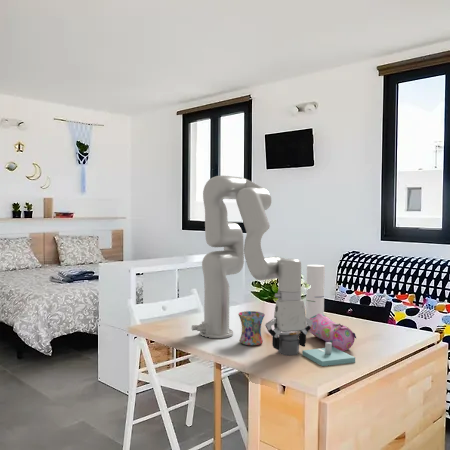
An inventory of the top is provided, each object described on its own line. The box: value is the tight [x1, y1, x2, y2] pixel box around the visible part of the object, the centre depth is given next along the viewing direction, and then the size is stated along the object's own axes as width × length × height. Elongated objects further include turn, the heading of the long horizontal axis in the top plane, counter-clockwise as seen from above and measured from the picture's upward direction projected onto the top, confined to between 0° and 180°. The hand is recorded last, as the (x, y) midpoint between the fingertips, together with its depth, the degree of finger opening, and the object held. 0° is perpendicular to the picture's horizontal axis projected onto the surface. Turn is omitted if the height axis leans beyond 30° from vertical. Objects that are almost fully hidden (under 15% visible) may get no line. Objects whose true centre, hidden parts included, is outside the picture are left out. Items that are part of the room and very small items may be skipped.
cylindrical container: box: [305, 264, 326, 325], centre depth 197 cm, size 7×7×25 cm
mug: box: [238, 310, 266, 346], centre depth 171 cm, size 12×9×11 cm
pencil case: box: [308, 314, 357, 352], centre depth 172 cm, size 21×9×9 cm, turn 14°
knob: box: [277, 331, 300, 357], centre depth 160 cm, size 6×6×6 cm
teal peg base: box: [301, 341, 356, 367], centre depth 154 cm, size 12×12×5 cm
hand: (289, 347), depth 160 cm, fingers open, 9 cm apart
